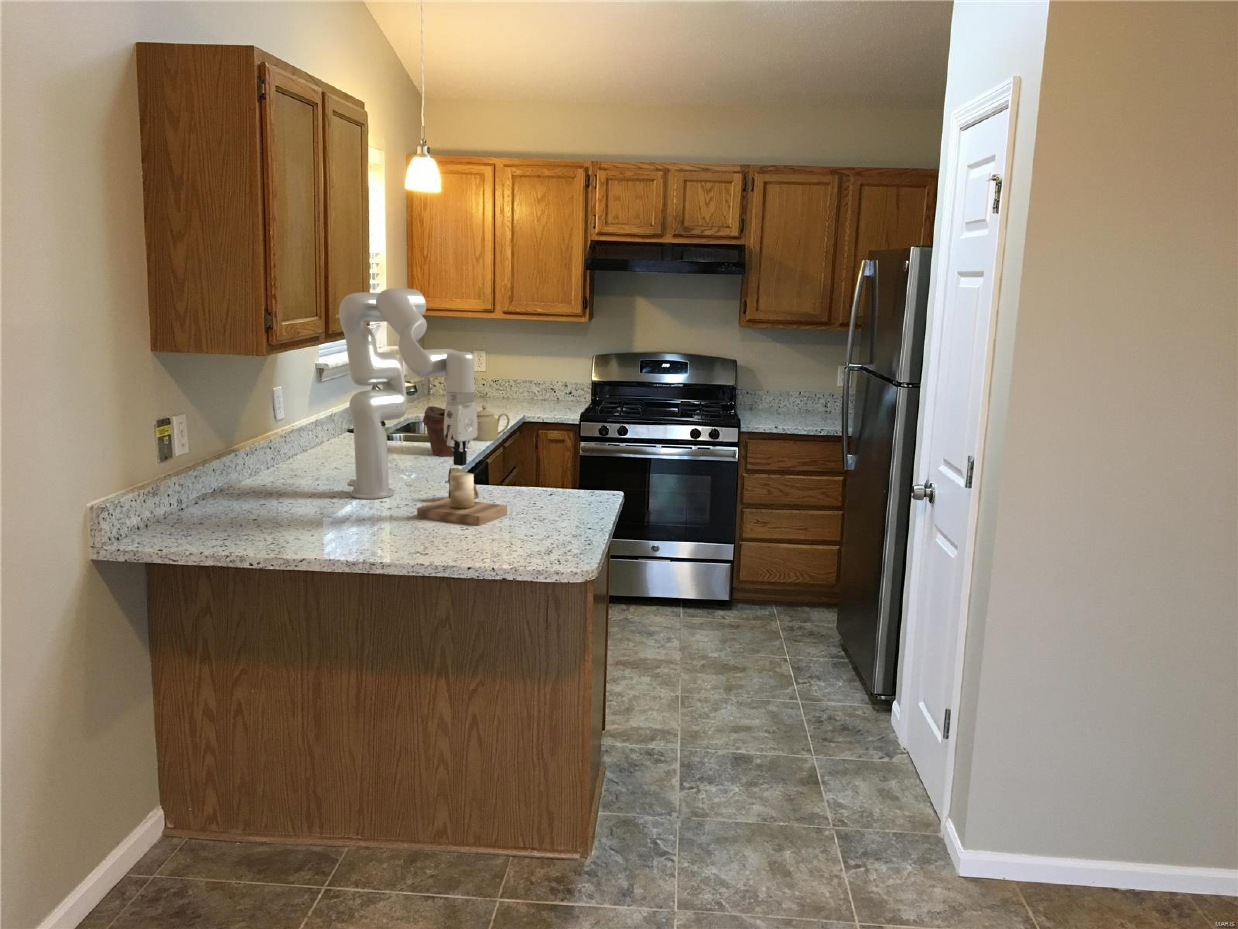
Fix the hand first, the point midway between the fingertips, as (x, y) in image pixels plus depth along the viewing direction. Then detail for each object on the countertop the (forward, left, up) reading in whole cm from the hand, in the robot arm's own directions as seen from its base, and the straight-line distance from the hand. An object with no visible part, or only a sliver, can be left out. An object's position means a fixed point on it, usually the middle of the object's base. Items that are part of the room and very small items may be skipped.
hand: (459, 464), depth 255 cm
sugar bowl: (-67, +120, -15) cm, 138 cm away
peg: (+1, 0, -14) cm, 14 cm away
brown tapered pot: (-60, +81, -15) cm, 102 cm away
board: (+1, 0, -14) cm, 14 cm away
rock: (-10, +17, -15) cm, 24 cm away
